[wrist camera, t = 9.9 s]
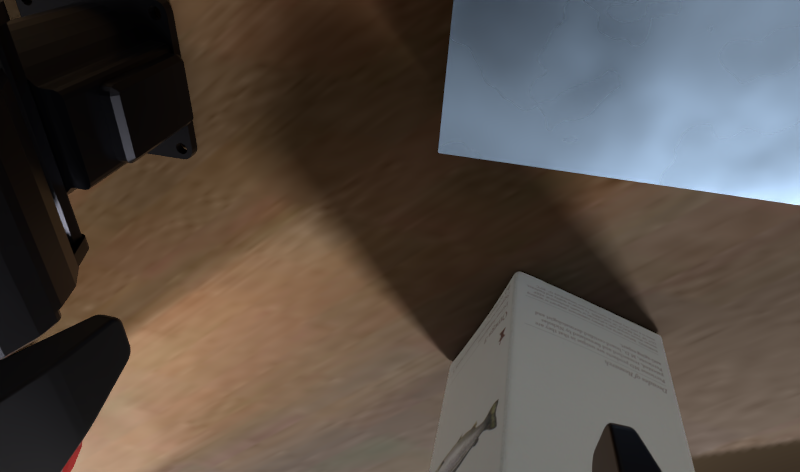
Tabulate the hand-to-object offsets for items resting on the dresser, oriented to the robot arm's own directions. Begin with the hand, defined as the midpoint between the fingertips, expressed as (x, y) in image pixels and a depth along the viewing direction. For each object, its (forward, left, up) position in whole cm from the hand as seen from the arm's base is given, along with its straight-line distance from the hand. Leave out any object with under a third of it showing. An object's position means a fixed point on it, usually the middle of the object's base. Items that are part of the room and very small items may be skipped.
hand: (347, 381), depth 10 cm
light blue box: (+8, +4, -13) cm, 16 cm away
